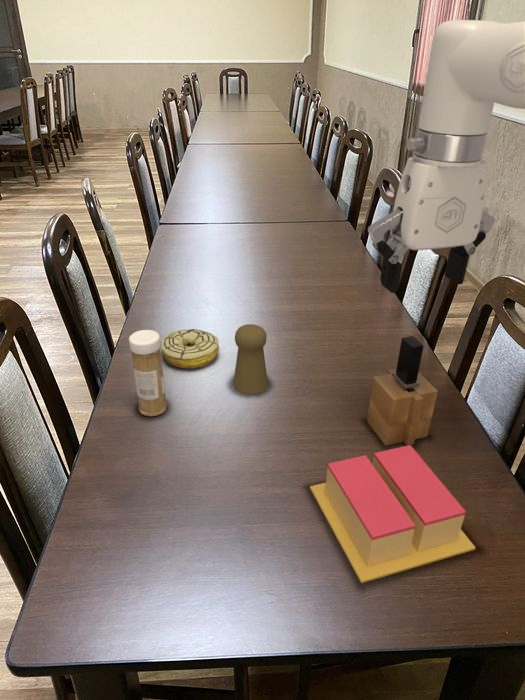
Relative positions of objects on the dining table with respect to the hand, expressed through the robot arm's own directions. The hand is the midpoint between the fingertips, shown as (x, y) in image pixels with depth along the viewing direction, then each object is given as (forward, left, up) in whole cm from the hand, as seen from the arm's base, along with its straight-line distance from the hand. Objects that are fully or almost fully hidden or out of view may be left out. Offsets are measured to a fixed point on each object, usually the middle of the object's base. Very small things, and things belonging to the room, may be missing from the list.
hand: (421, 284), depth 70 cm
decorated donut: (+26, -30, -24) cm, 46 cm away
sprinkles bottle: (+35, -16, -24) cm, 45 cm away
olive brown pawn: (+18, -18, -24) cm, 35 cm away
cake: (+10, +15, -24) cm, 30 cm away
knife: (0, 0, -24) cm, 24 cm away
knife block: (0, 0, -24) cm, 24 cm away
